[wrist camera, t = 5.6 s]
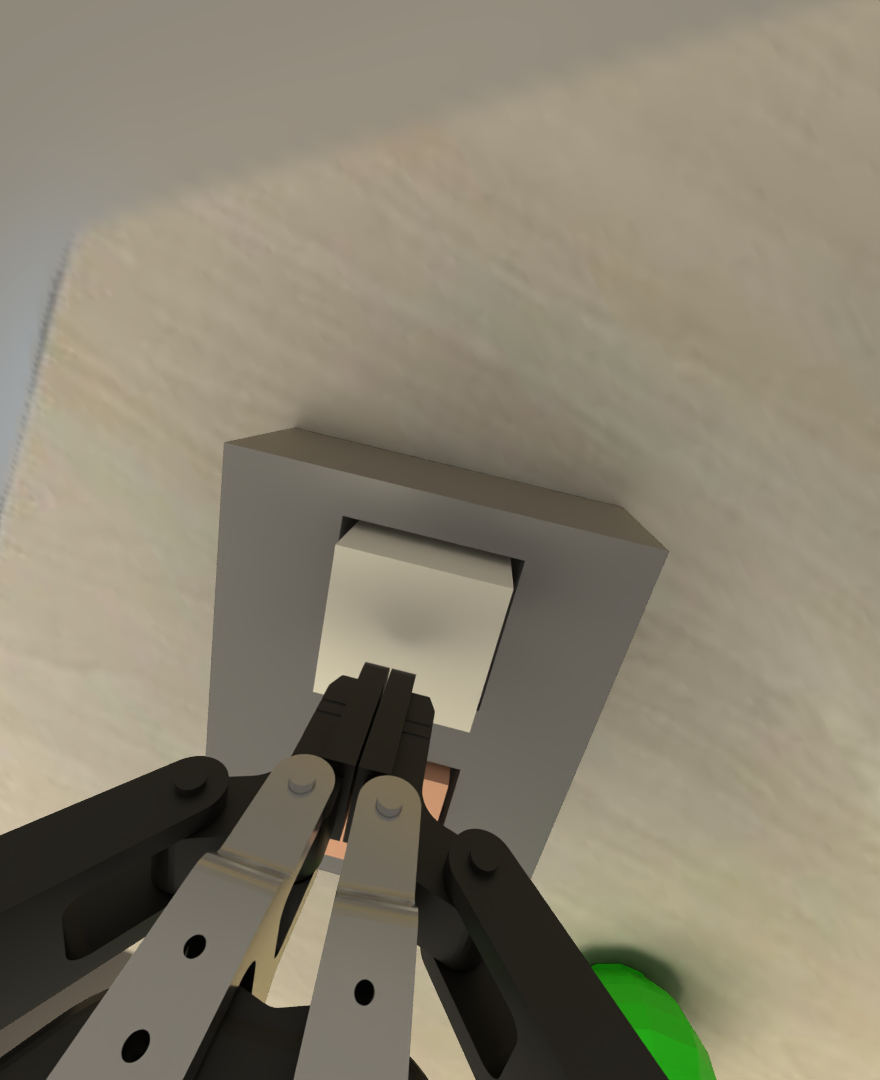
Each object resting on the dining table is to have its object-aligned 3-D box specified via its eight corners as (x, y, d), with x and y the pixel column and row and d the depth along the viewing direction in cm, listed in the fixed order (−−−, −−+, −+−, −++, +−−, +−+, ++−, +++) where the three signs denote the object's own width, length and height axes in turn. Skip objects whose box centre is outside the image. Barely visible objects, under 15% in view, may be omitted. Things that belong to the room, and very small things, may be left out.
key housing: (622, 507, 21) (668, 551, 16) (508, 814, 28) (512, 922, 22) (293, 427, 22) (223, 442, 16) (258, 747, 29) (200, 837, 23)
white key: (510, 556, 18) (513, 589, 15) (473, 682, 20) (469, 732, 17) (360, 519, 18) (335, 544, 15) (338, 648, 20) (313, 691, 17)
